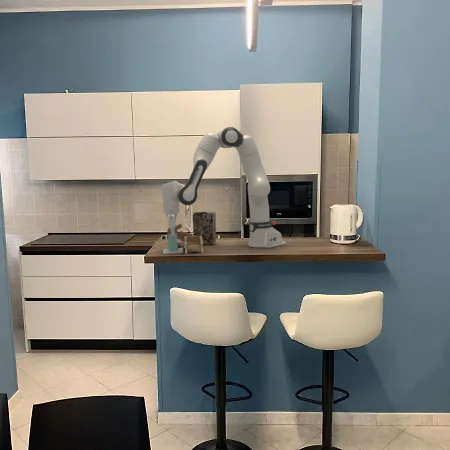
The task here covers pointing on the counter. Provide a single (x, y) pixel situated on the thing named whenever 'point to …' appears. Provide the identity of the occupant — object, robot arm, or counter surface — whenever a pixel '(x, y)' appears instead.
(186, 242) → the channel
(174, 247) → the block
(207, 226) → the stone block
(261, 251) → the counter surface
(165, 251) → the mat
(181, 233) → the figurine
